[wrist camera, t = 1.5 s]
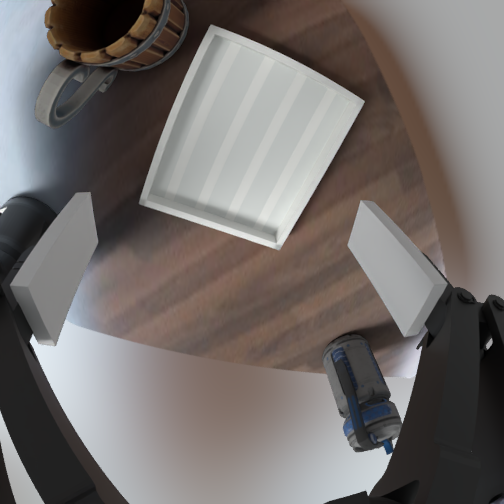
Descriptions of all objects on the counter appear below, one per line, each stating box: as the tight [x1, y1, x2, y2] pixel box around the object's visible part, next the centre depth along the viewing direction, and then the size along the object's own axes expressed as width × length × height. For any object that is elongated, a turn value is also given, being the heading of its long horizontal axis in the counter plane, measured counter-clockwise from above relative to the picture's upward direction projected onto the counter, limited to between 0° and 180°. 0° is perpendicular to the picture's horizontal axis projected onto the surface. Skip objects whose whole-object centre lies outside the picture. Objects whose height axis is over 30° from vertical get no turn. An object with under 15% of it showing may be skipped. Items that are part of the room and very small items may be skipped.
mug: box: [35, 0, 189, 129], centre depth 19 cm, size 16×11×15 cm
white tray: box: [139, 25, 365, 250], centre depth 33 cm, size 19×22×3 cm
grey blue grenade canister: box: [322, 334, 402, 455], centre depth 49 cm, size 10×13×25 cm
